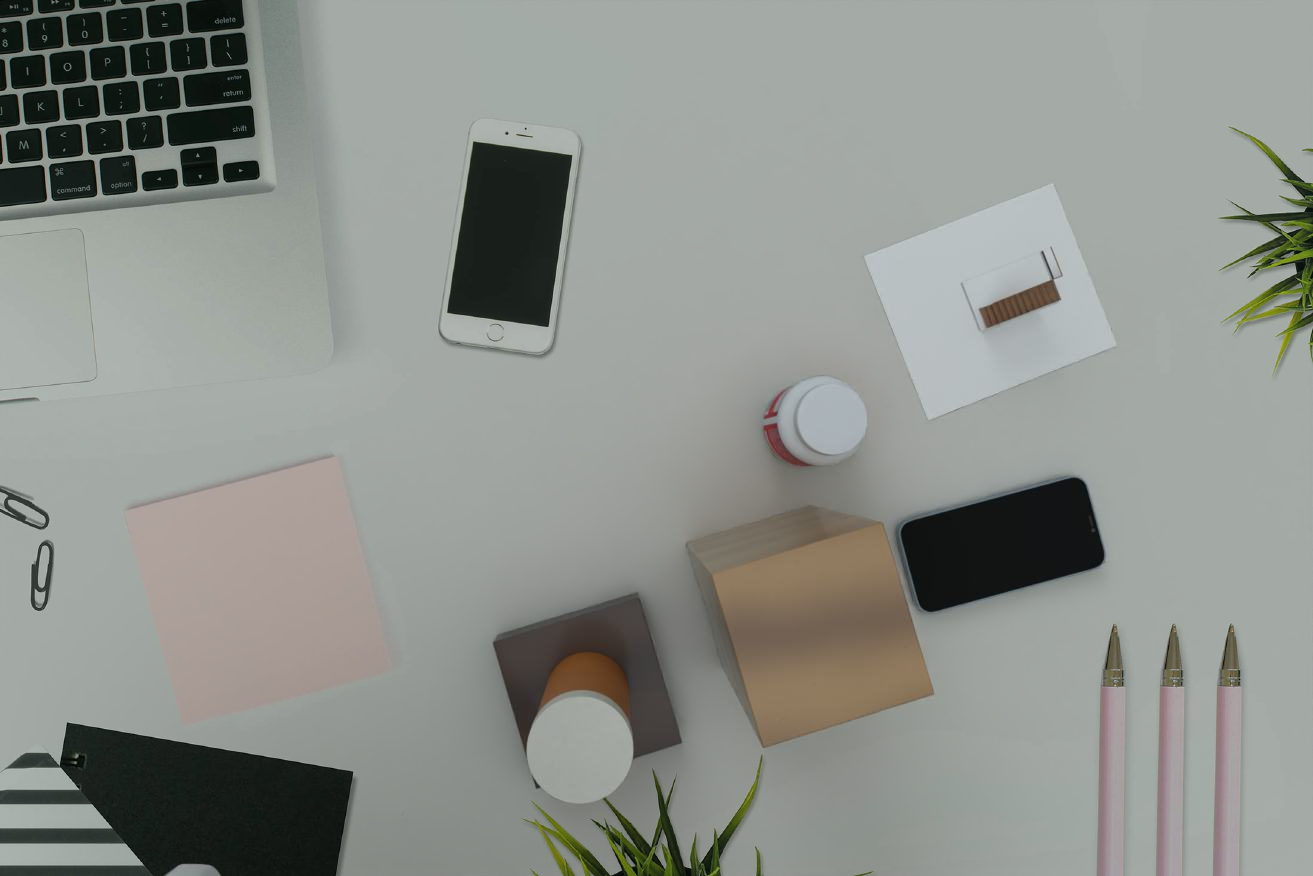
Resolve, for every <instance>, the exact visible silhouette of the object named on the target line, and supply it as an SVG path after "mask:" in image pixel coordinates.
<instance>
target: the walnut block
mask: <svg viewBox="0 0 1313 876" xmlns="http://www.w3.org/2000/svg"><path fill="white" fill-rule="evenodd" d="M643 607H644V606H643V604H642V601H641V597H640V594H639V592H633V593H630V594H627V595H624V596H623V595H622V596H620V597H617V598H614V599H610V600H608V601H607V600H606V601H604V602H601V603H597V604H594V605H591V606H588V607H584V608H581V609H578V610H574V611H571V612H568V613H564V614H561V615H558V616H555V617H551V618H548V619H544V620H542V621H539V622H538V621H537V622H535V623H532V624H529V625H525V626H521V627H519V628H515V629H512V630H508V631H506V632H502V633H499V634H497V635H496V637H495V639H494V640H493V641H492V646H493V648H494V652H495V656H496V659H497V662H498V667H499V669H500V673H501V675H502V679H503V682H504V687H505V690H506V693H507V696H508V699H509V700H508V701H509V703H510V707H511V709H512V714H513V717H514V720H515V723H516V727H517V731H518V733H519V737H520V740H521V744H522V747H523V750H524V753H525V757H526V758H527V741H528V736H529V733H530V730H531V727H532V724H533V722H534V720H535V718H536V716H537V714H538V711H539V707H540V704H541V701H542V698H543V695H544V692H545V688H546V685H547V682H548V679H549V677H550V675H551V673H552V671H553V670H554V668H555V667H556V666H557V665H558V664H559V663H560V662H561V661H562V660H564V659H565V658H567V657H569V656H571V655H573V654H576V653H580V652H595V653H600V654H603V655H605V656H607V657H609V658H610V659H612V660H613V661H614V662H616V663H617V664H618V665H619V667H620V668H621V669H622V671H623V672H624V674H625V676H626V679H627V682H628V686H629V700H630V721H631V729H632V734H633V747H634V749H633V759H632V760H634V759H637V758H640V757H643V756H645V755H646V756H647V755H649V754H653V753H656V752H659V751H662V750H665V749H669V748H671V747H675V746H678V745H681V744H683V740H682V736H681V732H680V728H679V725H678V721H677V718H676V715H675V711H674V708H673V705H672V701H671V699H670V694H669V690H668V688H667V685H666V680H665V678H664V675H663V670H662V667H661V664H660V661H659V658H658V654H657V652H656V648H655V644H654V640H653V638H652V635H651V631H650V628H649V624H648V621H647V618H646V613H645V610H644V608H643ZM530 774H531V777H532V780H533V784H534V787H535V789H536V790H537V789H540V788H541V787H540V786H539V785H538V783H537V782H536V780H535V779H534V777H533V775H532V773H531V772H530ZM541 789H542V788H541Z"/></svg>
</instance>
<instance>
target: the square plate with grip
mask: <svg viewBox="0 0 1313 876" xmlns="http://www.w3.org/2000/svg"><path fill="white" fill-rule="evenodd" d="M863 259H864V261H865V264H866V266H867V269H868V271H869V274H870V277H871V279H872V282H873V284H874V287H875V289H876V292H877V294H878V297H879V299H880V302H881V305H882V307H883V310H884V312H885V314H886V318H887V319H888V322H889V324H890V327H891V330H892V332H893V335H894V337H895V340H896V343H897V345H898V348H899V350H900V353H901V356H902V357H903V360H904V363H905V365H906V369H907V370H908V373H909V375H910V378H911V381H912V383H913V385H914V388H915V391H916V393H917V396H918V399H919V401H920V403H921V406H922V408H923V410H924V413H925V416H926V419H927V421H931V420H934V419H936V418H938V417H941V416H943V415H946V414H948V413H950V412H952V411H956V410H958V409H960V408H963V407H966V406H968V405H971V404H973V403H976V402H978V401H980V400H984V399H986V398H988V397H992V396H993V395H996V394H998V393H1002V392H1004V391H1007V390H1008V389H1012V388H1013V387H1016V386H1019V385H1021V384H1024V383H1026V382H1029V381H1031V380H1035V379H1036V378H1039V377H1042V376H1043V375H1047V374H1048V373H1052V372H1054V371H1056V370H1059V369H1062V368H1065V367H1066V366H1069V365H1071V364H1075V363H1077V362H1079V361H1082V360H1084V359H1087V358H1090V357H1092V356H1094V355H1097V354H1099V353H1102V352H1104V351H1107V350H1109V349H1113V348H1114V347H1117V346H1118V343H1117V341H1116V338H1115V335H1114V333H1113V330H1112V328H1111V325H1110V323H1109V321H1108V318H1107V316H1106V313H1105V310H1104V308H1103V306H1102V303H1101V300H1100V298H1099V295H1098V292H1097V290H1096V288H1095V285H1094V282H1093V280H1092V278H1091V277H1092V276H1091V275H1090V272H1089V270H1088V268H1087V265H1086V262H1085V260H1084V257H1083V255H1082V252H1081V249H1080V247H1079V245H1078V242H1077V239H1076V237H1075V234H1074V232H1073V229H1072V226H1071V225H1070V221H1069V220H1068V217H1067V214H1066V212H1065V209H1064V206H1063V204H1062V202H1061V199H1060V196H1059V194H1058V192H1057V190H1056V187H1055V185H1054V182H1051V183H1049V184H1047V185H1044V186H1041V187H1039V188H1037V189H1034V190H1031V191H1028V192H1026V193H1023V194H1021V195H1018V196H1015V197H1013V198H1010V199H1008V200H1005V201H1002V202H999V203H998V204H995V205H992V206H990V207H987V208H984V209H982V210H979V211H976V212H974V213H971V214H969V215H967V216H964V217H962V218H958V219H956V220H954V221H951V222H948V223H945V224H943V225H940V226H938V227H936V228H933V229H930V230H928V231H925V232H923V233H920V234H917V235H915V236H912V237H910V238H907V239H905V240H902V241H900V242H896V243H894V244H891V245H889V246H887V247H884V248H881V249H878V250H875V251H874V252H870V253H869V254H866V255H863Z"/></svg>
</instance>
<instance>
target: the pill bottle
mask: <svg viewBox="0 0 1313 876" xmlns="http://www.w3.org/2000/svg"><path fill="white" fill-rule="evenodd" d="M761 419H762V421H761V432H762V437H763V439H764V442H765V444H766V447H767V448H768V450H769V451H770V452H771V454H773V455H774V456H775V457H776V458H777V459H779V460H780V461H782V462H784V463H785V464H788V465H790V466H791V465H792V466H796V467H828V466H829V467H830V466H833V465H836V464H840V463H842V462H844V461H845V460H848V459H849V458H850V457H852V455H854V454H855V453H856V452H857V450H858V449H859V448H860V446H861V445H862V443H863V441H864V438H865V436H866V432H867V429H868V424H869V418H868V411H867V407H866V405H865V403H864V401H863V400H862V398H861V397H860V395H859V394H858V392H857V391H856V390H855V389H854V388H853V387H852V386H851V385H850V384H848V383H847V382H846V381H843V380H840V379H838V378H836V377H833V376H827V375H826V376H825V375H821V376H812V377H808V378H805V379H803V380H801V381H799V382H797V383H795V384H792V385H790V386H788V387H786V388H784V389H782V390H781V391H779V392H778V393H777V394H775V395H774V396H773V397H772V398H771V399H770V400H769V402H768V403H767V405H766V407H765V409H764V412H763V414H762V418H761Z"/></svg>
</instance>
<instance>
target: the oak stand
mask: <svg viewBox="0 0 1313 876" xmlns="http://www.w3.org/2000/svg"><path fill="white" fill-rule="evenodd" d="M685 547H686V551H687V553H688V557H689V560H690V563H691V566H692V569H693V573H694V576H695V580H696V583H697V586H698V590H699V593H700V596H701V599H702V603H703V607H704V609H705V612H706V613H705V614H706V617H707V620H708V623H709V626H710V627H709V628H710V630H711V633H712V636H713V640H714V643H715V647H716V650H717V653H718V657H719V660H720V663H721V667H722V669H723V672H724V674H725V676H726V677H727V679H728V681H729V684H730V685H731V688H732V690H733V691H734V693H735V695H736V697H737V700H738V701H739V704H740V706H741V708H742V709H743V711H744V713H745V715H746V718H747V719H748V721H749V723H750V725H751V727H752V729H753V731H754V733H755V735H756V737H757V739H758V741H759V743H760V745H761V747H762V748H763V749H765V748H769V747H772V746H775V745H778V744H779V745H780V744H782V743H784V742H788V741H790V740H794V739H796V738H800V737H803V736H806V735H810V734H813V733H817V732H819V731H823V730H826V729H829V728H832V727H835V726H838V725H842V724H846V723H847V722H851V721H854V720H858V719H861V718H864V717H867V716H870V715H873V714H877V713H880V712H882V711H886V710H889V709H890V710H891V709H892V708H896V707H899V706H902V705H905V704H909V703H912V702H915V701H918V700H921V699H924V698H928V697H931V696H934V695H935V691H934V687H933V684H932V681H931V677H930V675H929V674H930V673H929V671H928V667H927V664H926V661H925V657H924V654H923V651H922V647H921V644H920V641H919V638H918V634H917V631H916V628H915V624H914V620H913V618H912V614H911V611H910V608H909V605H908V602H907V601H908V600H907V598H906V594H905V591H904V588H903V585H902V581H901V578H900V574H899V571H898V568H897V565H896V562H895V561H896V560H895V558H894V555H893V551H892V548H891V544H890V542H889V539H888V535H887V532H886V528H885V524H884V522H883V521H880V520H876V519H872V518H867V517H863V516H859V515H854V514H850V513H846V512H841V511H837V510H834V509H828V508H824V507H821V506H816V505H812V504H809V505H805V506H803V507H799V508H795V509H793V510H790V511H785V512H783V513H779V514H775V515H772V516H769V517H767V518H763V519H759V520H755V521H753V522H749V523H746V524H743V525H740V526H737V527H733V528H730V529H726V530H723V531H719V532H716V533H714V534H709V535H707V536H704V537H703V536H702V537H700V538H697V539H694V540H691V541H687V542H686V543H685Z"/></svg>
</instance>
